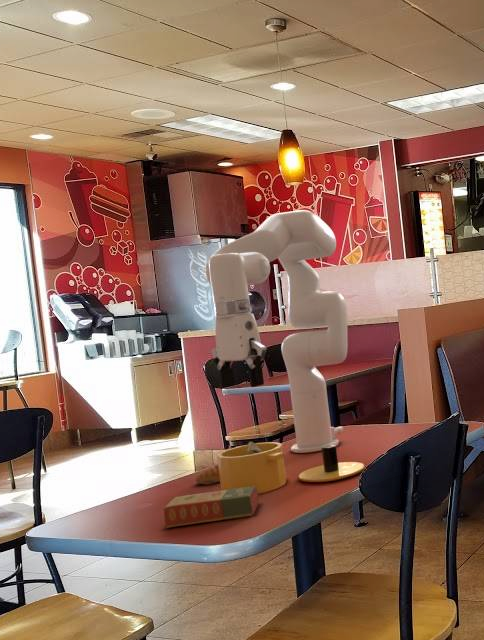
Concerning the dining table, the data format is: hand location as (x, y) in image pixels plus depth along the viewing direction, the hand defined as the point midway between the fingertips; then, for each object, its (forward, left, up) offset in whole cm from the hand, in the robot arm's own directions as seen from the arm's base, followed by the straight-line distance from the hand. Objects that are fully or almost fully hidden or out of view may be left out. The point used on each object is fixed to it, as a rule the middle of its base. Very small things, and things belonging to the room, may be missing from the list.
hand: (242, 386), depth 165 cm
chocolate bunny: (0, +1, -22) cm, 22 cm away
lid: (-12, +12, -22) cm, 28 cm away
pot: (0, 0, -23) cm, 23 cm away
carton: (+18, +10, -23) cm, 31 cm away
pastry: (-3, -16, -23) cm, 28 cm away
